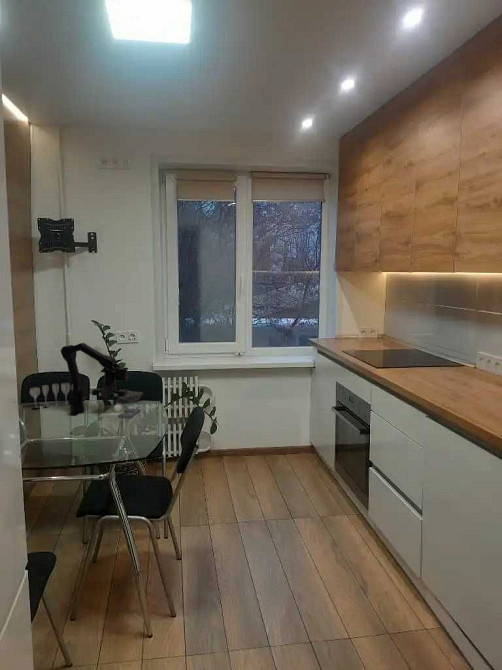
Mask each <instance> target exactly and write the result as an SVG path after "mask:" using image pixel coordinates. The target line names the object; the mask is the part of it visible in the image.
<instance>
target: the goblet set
mask: <svg viewBox="0 0 502 670" xmlns="http://www.w3.org/2000/svg"><path fill="white" fill-rule="evenodd" d="M51 388H52V392H53V395H54V398H55V399H57V396H58V395H59V394H58V393H59V390H60V389H61V391H62V393H63V394H64V396H65V405H67V404H68V402H67V396H68V394H69V392H70V391H72V390H73V384H70V382H62V383H61V385H60V387H59V383H52V387H51ZM41 390H42V394H43V397H44V400H45V401H47V398H48V397H47V396H48V393H49V390H50V388H49V384H42V386H41V388H40V387H39V386H33V387H30V389H29V395H30V396H31V397H33V399H34V405H35V406H36V407H37V398H38V397H39V396H40V394H41ZM55 405H58V403H57V401H55ZM35 406H34V407H35Z"/></svg>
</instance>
